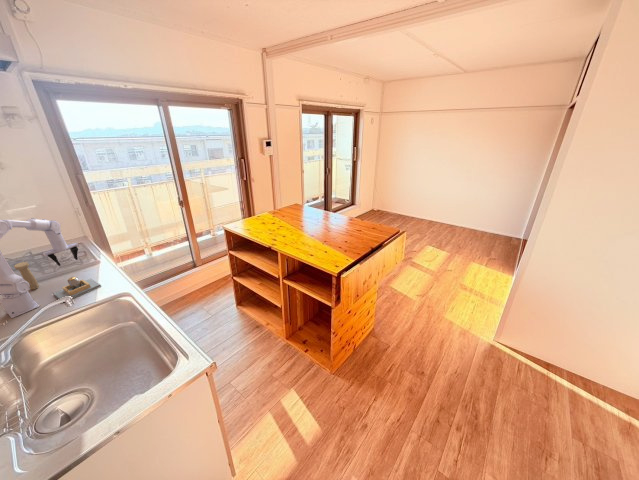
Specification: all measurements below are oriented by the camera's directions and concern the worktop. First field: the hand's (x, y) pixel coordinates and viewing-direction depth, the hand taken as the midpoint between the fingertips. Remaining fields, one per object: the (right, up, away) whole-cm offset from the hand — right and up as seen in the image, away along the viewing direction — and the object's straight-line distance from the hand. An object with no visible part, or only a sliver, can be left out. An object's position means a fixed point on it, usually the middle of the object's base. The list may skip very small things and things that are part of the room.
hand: (68, 262), depth 144 cm
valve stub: (+15, -13, -10) cm, 22 cm away
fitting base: (+15, -14, -9) cm, 23 cm away
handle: (-11, -14, -7) cm, 19 cm away
